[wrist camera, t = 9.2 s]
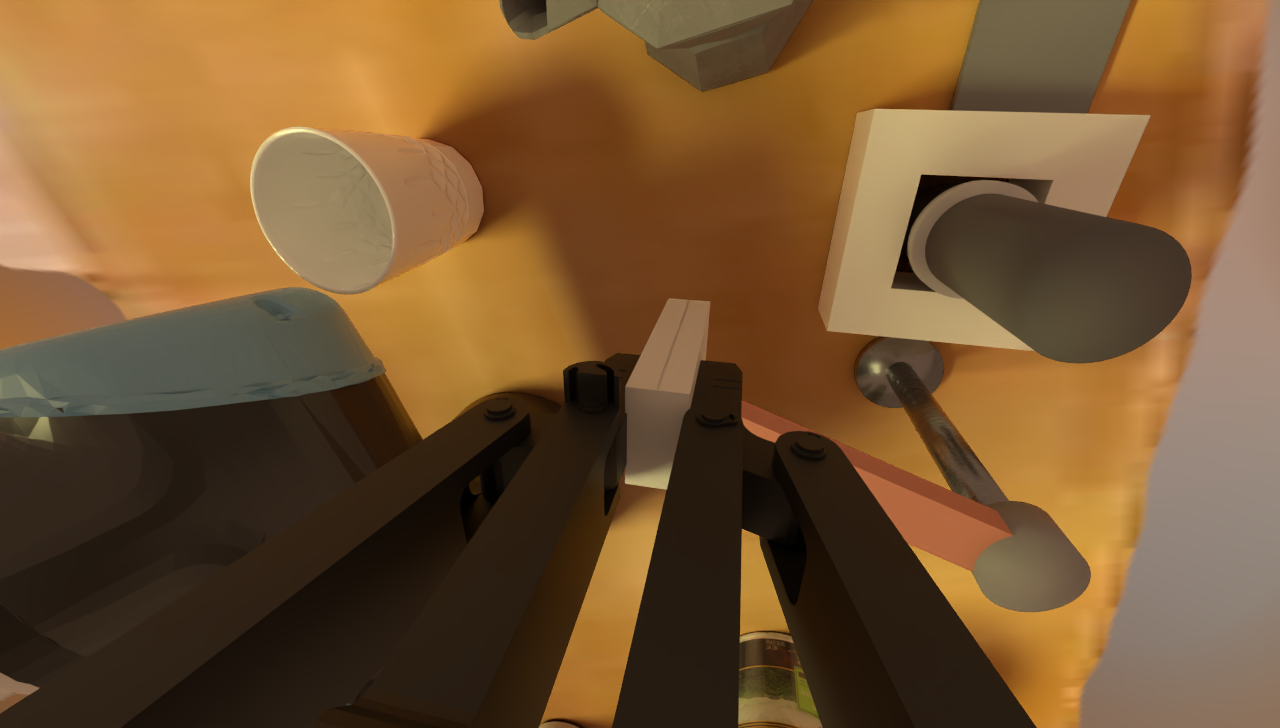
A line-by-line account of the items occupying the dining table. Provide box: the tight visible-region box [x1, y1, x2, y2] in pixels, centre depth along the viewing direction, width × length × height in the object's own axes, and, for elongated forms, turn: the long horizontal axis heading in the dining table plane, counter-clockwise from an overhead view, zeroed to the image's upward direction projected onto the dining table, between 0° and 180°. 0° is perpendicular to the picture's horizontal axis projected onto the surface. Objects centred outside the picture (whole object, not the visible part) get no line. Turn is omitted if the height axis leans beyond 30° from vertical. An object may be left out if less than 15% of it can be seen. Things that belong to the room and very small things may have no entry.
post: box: [854, 336, 1009, 505], centre depth 24 cm, size 5×5×14 cm
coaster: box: [950, 0, 1131, 114], centre depth 23 cm, size 6×6×1 cm
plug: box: [901, 180, 1192, 363], centre depth 21 cm, size 5×5×14 cm
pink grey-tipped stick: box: [741, 400, 1091, 612], centre depth 17 cm, size 17×3×2 cm, turn 69°
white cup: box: [250, 127, 484, 294], centre depth 28 cm, size 8×8×10 cm
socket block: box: [818, 109, 1151, 351], centre depth 25 cm, size 11×11×4 cm
